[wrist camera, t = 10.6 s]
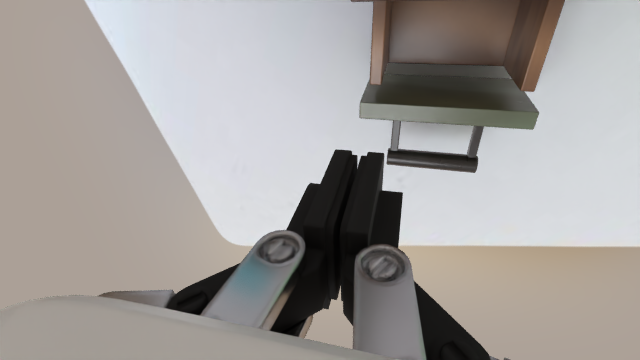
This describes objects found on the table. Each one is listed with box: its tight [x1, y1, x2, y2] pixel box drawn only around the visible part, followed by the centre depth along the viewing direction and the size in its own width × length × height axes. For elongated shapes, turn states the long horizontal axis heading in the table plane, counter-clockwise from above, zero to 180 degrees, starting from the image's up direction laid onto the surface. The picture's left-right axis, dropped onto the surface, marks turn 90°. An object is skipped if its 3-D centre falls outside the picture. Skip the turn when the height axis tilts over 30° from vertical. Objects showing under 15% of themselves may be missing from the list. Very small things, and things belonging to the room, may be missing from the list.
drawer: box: [359, 0, 565, 173], centre depth 23 cm, size 18×11×7 cm, turn 2°
